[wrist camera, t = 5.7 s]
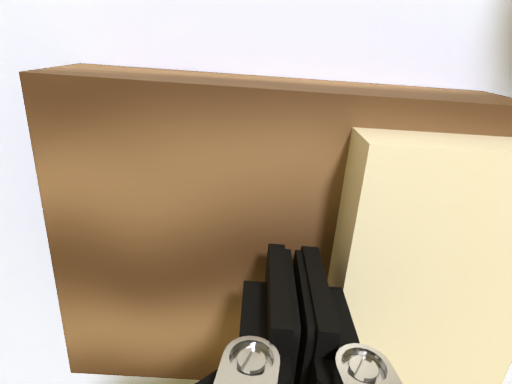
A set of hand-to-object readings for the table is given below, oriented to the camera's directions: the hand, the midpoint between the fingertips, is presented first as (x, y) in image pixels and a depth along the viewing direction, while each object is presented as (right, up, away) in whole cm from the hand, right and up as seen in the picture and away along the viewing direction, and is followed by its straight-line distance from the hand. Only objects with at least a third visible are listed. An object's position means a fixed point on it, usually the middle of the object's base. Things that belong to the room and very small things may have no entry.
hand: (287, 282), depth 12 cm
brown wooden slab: (0, +2, +5) cm, 5 cm away
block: (+5, 0, 0) cm, 5 cm away
